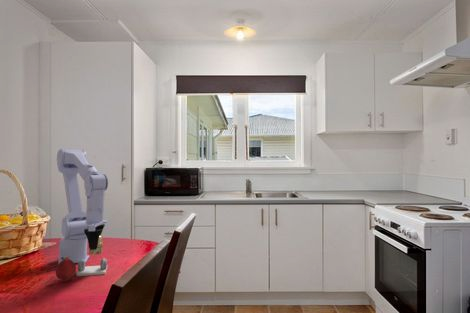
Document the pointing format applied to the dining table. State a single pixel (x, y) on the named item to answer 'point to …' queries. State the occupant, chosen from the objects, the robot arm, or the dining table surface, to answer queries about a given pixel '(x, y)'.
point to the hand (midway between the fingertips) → (94, 247)
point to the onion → (65, 269)
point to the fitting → (91, 268)
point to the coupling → (99, 247)
